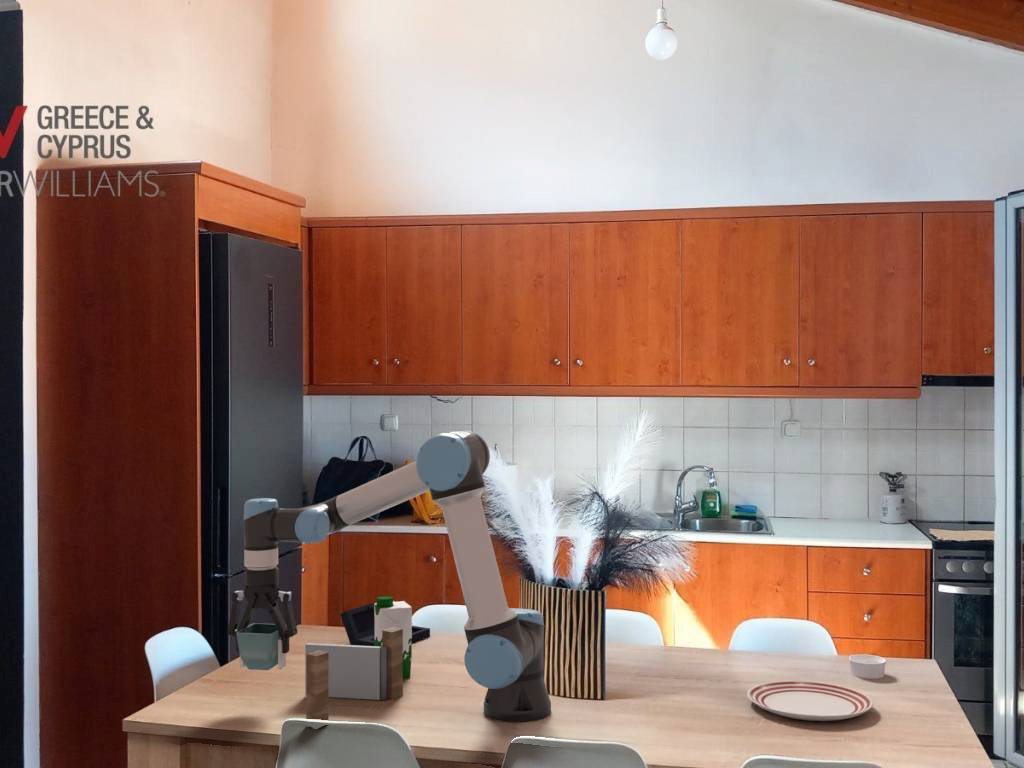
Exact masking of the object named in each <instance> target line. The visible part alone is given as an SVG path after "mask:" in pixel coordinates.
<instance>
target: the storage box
mask: <svg viewBox="0 0 1024 768" xmlns="http://www.w3.org/2000/svg"><path fill="white" fill-rule="evenodd" d="M374 603H377V601H376V602H371V603H369V604H365V605H362V606H358V607H355V608H351V609H349V610H346V611H343V612H341V613H340V618H341V620H342V624H343V628H344V630H345V632H346V636H347V638H348V641H349V644H350V645H357V646H375V616H374ZM430 637H431V628H427V627H422V626H416V625H412V644H414V643H417V642H419V641H423V640H425V639H428V638H430Z"/></svg>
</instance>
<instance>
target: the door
mask: <svg viewBox="0 0 1024 768" xmlns="http://www.w3.org/2000/svg"><path fill="white" fill-rule="evenodd" d="M304 647H305V650H304V652H305V655H304V656H305V658H304V659H305V660H304V661H305V662H304V663H305V665H304V666H305V670H304V671H305V672H304V674H305V676H304V677H305V682H304V684H305V688H304V689H305V690H304V691H305V693H304V694H305V697H306V654H308V653H311V652H314V651H318V650H320V651H325V652H329V698H339V699H340V698H341V699H343V698H344V699H357V700H358V699H361V700H375V701H376V700H378V701H379V700H381V701H385V700H388V699H387V647H378V646H358V645H349V644H333V643H316V642H315V643H313V642H307V643H305V646H304Z"/></svg>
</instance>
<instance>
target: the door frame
mask: <svg viewBox="0 0 1024 768" xmlns="http://www.w3.org/2000/svg"><path fill="white" fill-rule="evenodd" d="M382 647H387V699H386V700H390V701H394V700H396V699H398V698H400V697H403V695H404V694H403V693H404V692H403V691H404V690H403V689H404V688H403V686H404V684H403V681H404V679H403V629H401V628H395V627H392V628H389V629H385V630H382ZM329 698H330V697H329V652H325V651H320V650H318V651H314V652H311V653H308V654H306V696H305V699H306V700H305V701H306V702H305V703H306V705H305V706H306V709H305V710H306V711H305V712H306V715H305V716H306V717H305V718H306V719H321V720H329V719H330V718H329V717H330V716H329V715H330V714H329V712H330V711H329Z"/></svg>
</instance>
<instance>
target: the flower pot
mask: <svg viewBox="0 0 1024 768" xmlns="http://www.w3.org/2000/svg"><path fill="white" fill-rule="evenodd" d="M286 626H287V625H286ZM280 638H281V637H280V634H279V632H278V630H277V628H276V626H275V623H258V622H256V623H251V624H248V627H246V628H245V629H242V630H240V631H238V632H237V640H238V647H239V652H238V653H239V657H240V656H241V659H242V661H243V662H244V664H245V665H246V666H245V667H246V668H247V669H248V670H250V671H256V670H257V671H270V670H271V669H273V668H274V667H276V666H278V640H279V639H280Z"/></svg>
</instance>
